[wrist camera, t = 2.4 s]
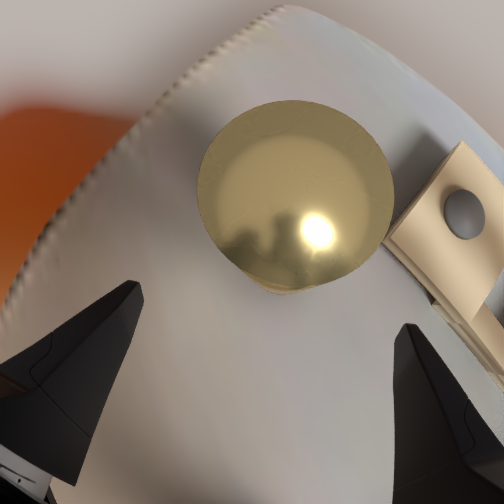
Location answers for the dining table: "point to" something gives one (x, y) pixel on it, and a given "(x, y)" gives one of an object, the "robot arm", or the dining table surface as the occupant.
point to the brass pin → (295, 194)
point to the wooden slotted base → (458, 249)
